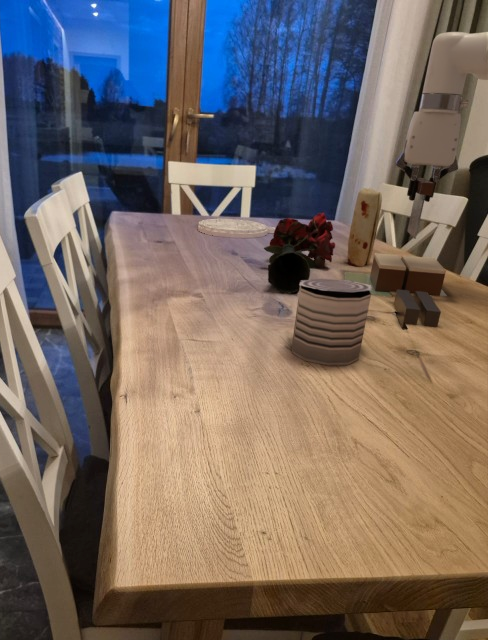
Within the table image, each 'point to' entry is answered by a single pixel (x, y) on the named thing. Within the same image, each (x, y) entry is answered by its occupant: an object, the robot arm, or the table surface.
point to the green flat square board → (370, 283)
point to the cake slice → (387, 272)
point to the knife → (419, 204)
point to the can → (330, 321)
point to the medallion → (234, 228)
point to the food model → (364, 227)
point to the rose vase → (298, 251)
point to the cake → (423, 275)
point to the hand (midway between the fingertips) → (419, 199)
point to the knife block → (416, 308)
